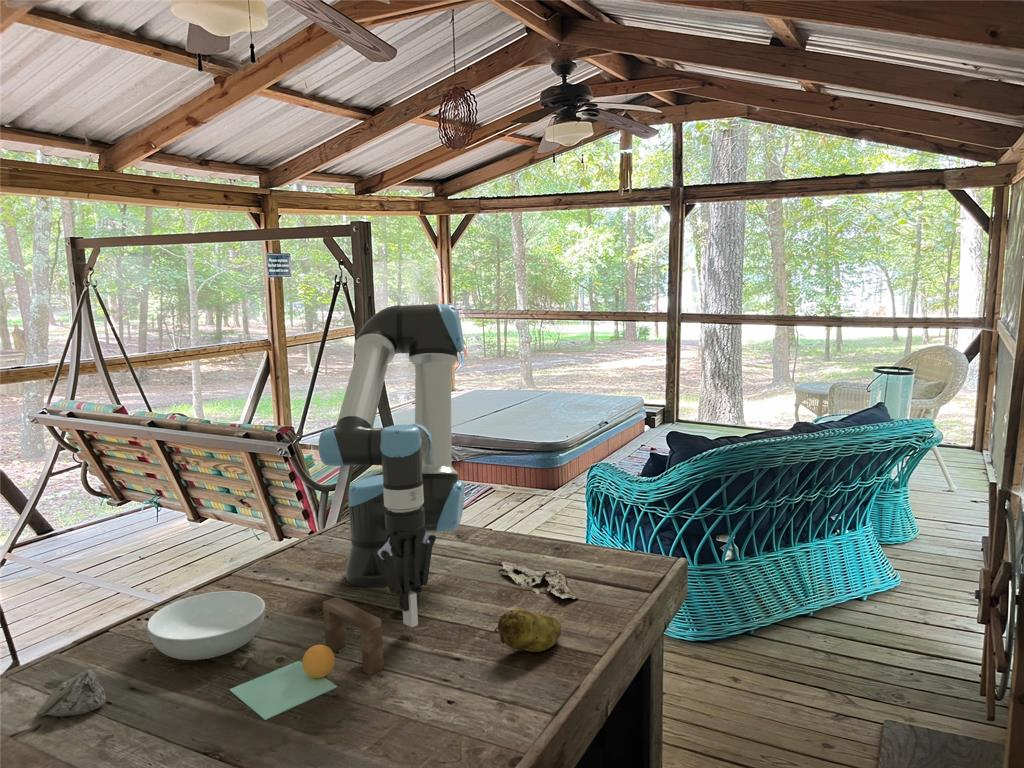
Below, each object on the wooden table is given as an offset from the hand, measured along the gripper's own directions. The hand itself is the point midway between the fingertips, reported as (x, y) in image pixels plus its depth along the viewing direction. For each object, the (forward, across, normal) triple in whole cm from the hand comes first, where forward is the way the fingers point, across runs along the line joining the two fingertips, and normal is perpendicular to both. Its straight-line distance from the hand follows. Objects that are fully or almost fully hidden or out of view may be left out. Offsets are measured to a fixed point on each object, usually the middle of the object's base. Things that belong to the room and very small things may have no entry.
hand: (410, 624), depth 144 cm
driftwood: (+3, +34, -2) cm, 34 cm away
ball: (-1, -21, -1) cm, 21 cm away
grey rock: (+2, -53, +21) cm, 57 cm away
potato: (+2, +11, -22) cm, 25 cm away
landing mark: (+2, -27, 0) cm, 27 cm away
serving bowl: (+2, -29, +25) cm, 38 cm away
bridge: (+2, -13, 0) cm, 13 cm away
